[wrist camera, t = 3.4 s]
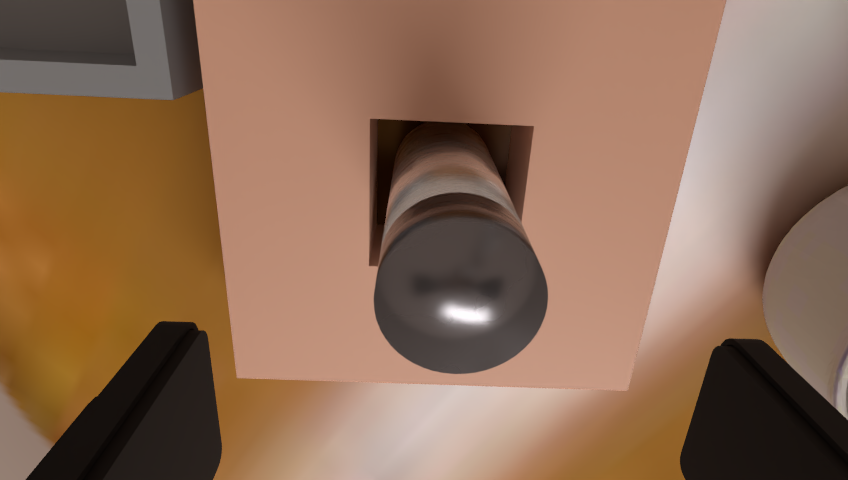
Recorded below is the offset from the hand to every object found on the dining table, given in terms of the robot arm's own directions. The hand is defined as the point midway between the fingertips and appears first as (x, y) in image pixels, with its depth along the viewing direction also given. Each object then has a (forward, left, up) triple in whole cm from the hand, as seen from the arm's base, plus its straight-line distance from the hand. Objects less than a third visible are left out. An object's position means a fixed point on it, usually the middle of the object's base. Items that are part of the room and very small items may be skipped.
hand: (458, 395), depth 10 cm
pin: (0, 0, -14) cm, 14 cm away
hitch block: (0, 0, -14) cm, 14 cm away
